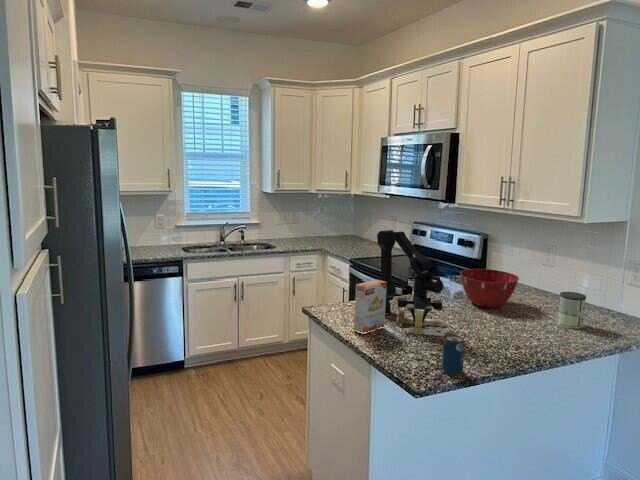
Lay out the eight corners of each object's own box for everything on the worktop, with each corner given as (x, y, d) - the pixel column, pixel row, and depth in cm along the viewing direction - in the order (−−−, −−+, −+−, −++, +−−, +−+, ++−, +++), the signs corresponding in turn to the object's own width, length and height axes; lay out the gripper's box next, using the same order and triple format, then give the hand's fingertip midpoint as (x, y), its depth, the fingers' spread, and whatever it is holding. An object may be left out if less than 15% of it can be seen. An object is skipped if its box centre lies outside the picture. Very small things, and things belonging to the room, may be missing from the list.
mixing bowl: (517, 315, 222) (520, 284, 220) (456, 308, 232) (458, 278, 229) (515, 300, 248) (517, 271, 246) (459, 294, 258) (461, 266, 256)
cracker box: (364, 336, 191) (365, 286, 188) (353, 332, 195) (354, 283, 192) (385, 328, 200) (387, 281, 197) (374, 325, 205) (376, 278, 201)
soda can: (465, 375, 156) (468, 341, 154) (446, 376, 155) (448, 342, 153) (457, 367, 163) (460, 334, 161) (438, 367, 162) (440, 334, 160)
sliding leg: (415, 331, 197) (415, 315, 196) (414, 323, 207) (415, 308, 206) (422, 332, 196) (423, 316, 195) (421, 323, 207) (422, 308, 206)
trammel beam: (395, 329, 199) (396, 316, 198) (396, 321, 210) (397, 308, 209) (443, 333, 196) (444, 319, 195) (442, 325, 206) (443, 312, 205)
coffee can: (555, 319, 216) (558, 290, 214) (580, 322, 213) (583, 292, 211) (558, 326, 207) (562, 296, 205) (584, 330, 204) (588, 298, 201)
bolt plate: (395, 332, 195) (395, 331, 195) (396, 327, 202) (396, 326, 202) (444, 337, 192) (444, 335, 192) (443, 331, 198) (443, 329, 198)
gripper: (398, 291, 193) (396, 327, 196) (444, 294, 190) (441, 330, 192) (398, 284, 204) (397, 318, 207) (442, 287, 201) (440, 322, 203)
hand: (418, 322), depth 202 cm, fingers closed on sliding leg, 3 cm apart
